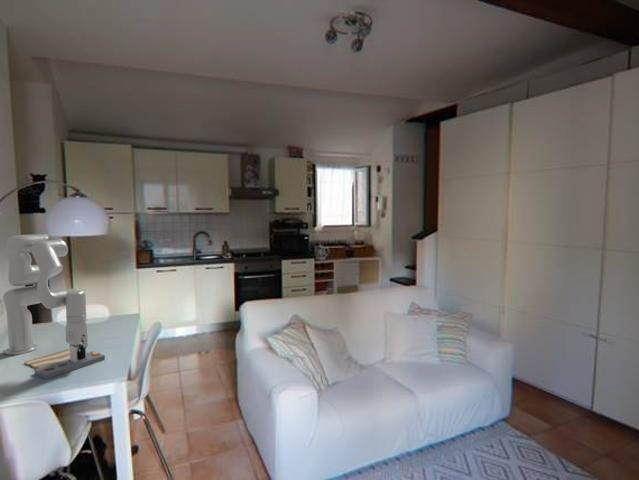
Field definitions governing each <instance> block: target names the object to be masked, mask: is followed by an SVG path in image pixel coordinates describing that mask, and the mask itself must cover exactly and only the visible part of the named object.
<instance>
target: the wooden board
mask: <svg viewBox="0 0 639 480" xmlns="http://www.w3.org/2000/svg"><path fill="white" fill-rule="evenodd" d="M66 359H70V349H68V348H67V349H64V350H61V351H57V352H54V353H50V354H46V355H44V356H43V355H42V356H40V357H36V358H33V359H29V360H27V361H24V365H27V366H29V367H32V368H33V369H38V368H41V367H44V366H47V365H50V364H54V363H57V362H60V361H63V360H66Z"/></svg>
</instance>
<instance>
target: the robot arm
mask: <svg viewBox="0 0 639 480" xmlns="http://www.w3.org/2000/svg"><path fill="white" fill-rule="evenodd" d="M5 244H6V245H5V246H6V247H5V248H6V252H7V255H8V260H9V261H8V277H7V279H8V283H9V285H11V286H13V287H16V288H12V289H11V288H10V289H9V290H7V291H5V292H4V294H3V297H2V301H3V303H4V307H5V311H6V312H5V313H6V322H7V323H6V324H7V337H8V348H6V349H5V350H4V354H5V355H8V356H15V355H16V356H17V355H23V354H27V353H30V352H32V351H35V350H37V349H38V344H35V343H34V333H33V317H32V312H31V311H30V310H29V309H28V308H27V307H28V306H31V305H32V306H33V305H37V304H42V305H43V306H44V308H45V309H49V310H53V309H56V308H57V309H58V308H61V307H65V315H66V317H65V319H66V324H65V342H66V344H69V346H70V345H75V346H77V347H78V351H77V360H81V359H84V358H86V355H85V350H86V351H87V347H88V345H89V344H88V340H89V339H88V337H89V336H88V326H87V320H88V319H87V303H86V299H87V297H86V292H85V291H84V290H78V289H75V288H65V289H59V290H58V289H57V290H53V291H51V290H50V287H49V280H50V279H52V278H53V277H56V276H57V275H59V274H60V273H61V272H63V269H64V267H63V264H62V262H61V260H60V258H63V257H65V256H67V254H68V253H69V247H68V245H67V243H66V242H65V240H63V239H61V238H58V237H56V236H55V235H52V234H49V233H39V234H19V235H13V236H10V237H9V238H8V239H7V241H6V243H5ZM29 253H31V254H32V257H33V259H34V261H35V263H36V264H32V257H31V255H30V254H29ZM80 343H81V344H80ZM80 345H82V346H81V347H80Z"/></svg>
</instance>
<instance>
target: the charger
mask: <svg viewBox="0 0 639 480" xmlns="http://www.w3.org/2000/svg"><path fill="white" fill-rule="evenodd" d="M81 343H82V342H81ZM81 343H80V344H81ZM81 346H82V345H80V347H81ZM69 350H70V362H73V363H77V362H80V361H83V360H87V358H84V359H81V360H77V351H78V347H77V346H75V345H70V344H69ZM86 353H87V349H86V350H85V355H86Z"/></svg>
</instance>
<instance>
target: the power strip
mask: <svg viewBox="0 0 639 480" xmlns="http://www.w3.org/2000/svg"><path fill="white" fill-rule="evenodd" d="M86 358H87V360H83V361H80V362H77V363H73V362H70V359H66V360H63V361H60V362H57V363H54V364H50V365H47V366H44V367H41V368H38V369H36V368H33V369H34V375H36V376H38V377H40V378H43V379H44V380H49V379H51V378H54V377H58V376H61V375H63V374H66V373H69V372H71V371H72V372H73V371H74V370H77V369H81V368H84V367H86V366H87V367H88V366H89V365H93V364H96V363H98V362H101V361H104V360H105V359H106V354H102V353H100V352H98V351H89V352H86Z"/></svg>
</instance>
